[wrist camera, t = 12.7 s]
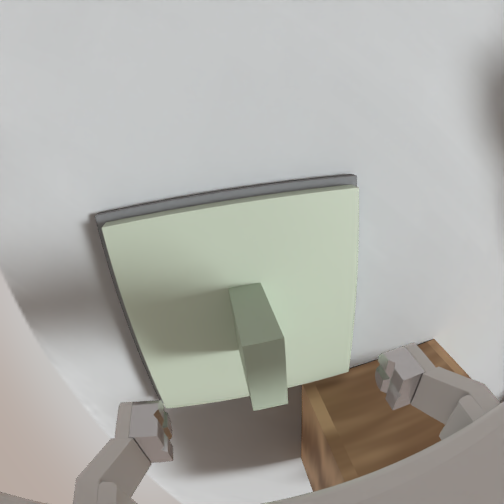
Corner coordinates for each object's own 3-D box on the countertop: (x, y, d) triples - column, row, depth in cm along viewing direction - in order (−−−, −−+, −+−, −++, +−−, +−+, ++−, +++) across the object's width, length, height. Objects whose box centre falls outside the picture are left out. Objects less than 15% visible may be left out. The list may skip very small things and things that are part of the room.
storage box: (301, 381, 21) (354, 503, 12) (433, 339, 22) (506, 419, 13) (301, 457, 25) (332, 543, 16) (405, 421, 27) (449, 490, 18)
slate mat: (97, 213, 14) (94, 216, 14) (353, 174, 16) (356, 175, 15) (161, 399, 19) (161, 403, 19) (345, 363, 21) (348, 366, 20)
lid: (105, 222, 14) (68, 270, 9) (351, 184, 15) (414, 213, 11) (166, 399, 19) (166, 466, 14) (344, 364, 20) (377, 419, 15)
